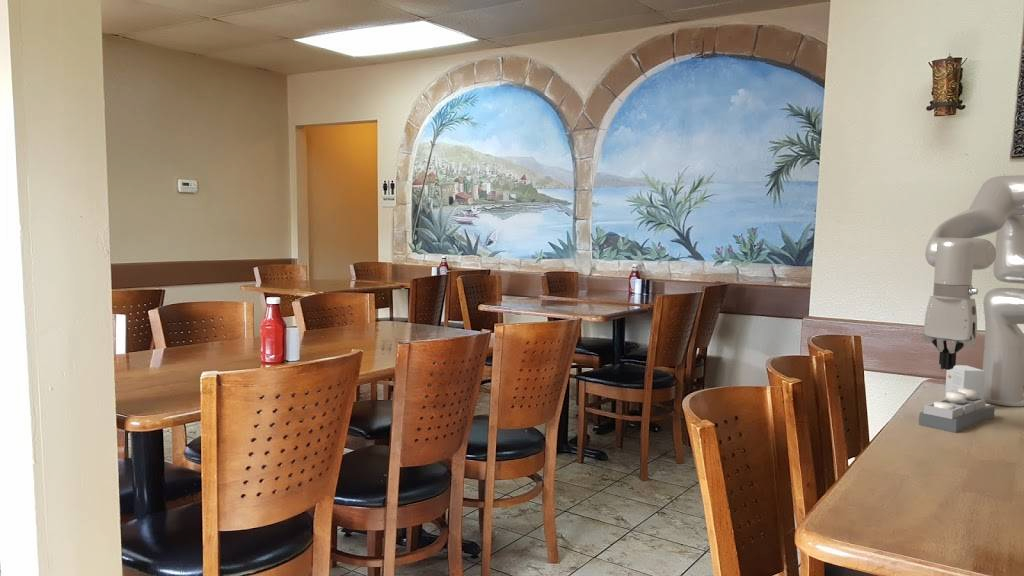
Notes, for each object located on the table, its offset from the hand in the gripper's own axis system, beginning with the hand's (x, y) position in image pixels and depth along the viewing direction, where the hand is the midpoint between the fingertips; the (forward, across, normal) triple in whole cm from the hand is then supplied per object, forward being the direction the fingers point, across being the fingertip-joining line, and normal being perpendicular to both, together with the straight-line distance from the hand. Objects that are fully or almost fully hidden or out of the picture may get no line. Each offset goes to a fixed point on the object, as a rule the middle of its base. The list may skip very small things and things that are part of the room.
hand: (946, 368), depth 168 cm
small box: (+15, +6, -27) cm, 32 cm away
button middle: (+9, 0, -6) cm, 11 cm away
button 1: (+10, 0, +1) cm, 10 cm away
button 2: (+9, 0, -13) cm, 16 cm away
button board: (+14, 0, -8) cm, 16 cm away
